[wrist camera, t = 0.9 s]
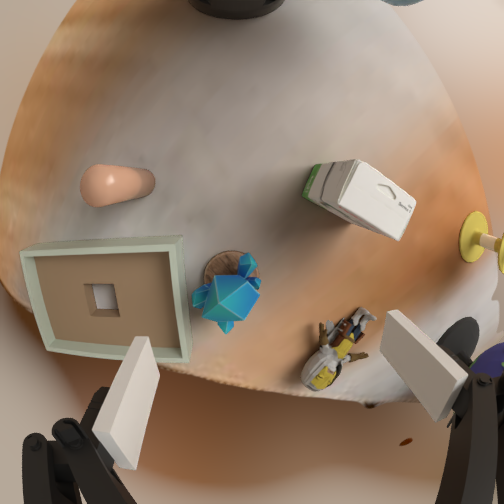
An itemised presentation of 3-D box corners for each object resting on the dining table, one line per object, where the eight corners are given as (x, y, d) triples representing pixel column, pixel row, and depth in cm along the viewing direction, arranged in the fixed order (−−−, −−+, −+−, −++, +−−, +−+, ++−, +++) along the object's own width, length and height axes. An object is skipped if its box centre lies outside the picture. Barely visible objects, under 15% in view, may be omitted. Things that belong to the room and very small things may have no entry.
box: (38, 243, 32) (19, 251, 27) (182, 235, 34) (175, 244, 29) (60, 335, 36) (46, 350, 32) (192, 342, 38) (189, 363, 34)
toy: (397, 334, 38) (337, 406, 38) (379, 322, 43) (325, 388, 43) (353, 297, 35) (284, 382, 35) (335, 286, 40) (274, 363, 40)
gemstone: (187, 274, 36) (171, 317, 24) (241, 237, 35) (249, 265, 24) (220, 315, 38) (219, 368, 26) (273, 281, 37) (292, 325, 25)
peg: (128, 170, 32) (79, 167, 19) (155, 167, 32) (115, 161, 19) (129, 197, 32) (81, 209, 20) (155, 195, 33) (117, 205, 20)
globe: (492, 296, 44) (580, 353, 15) (468, 371, 49) (531, 435, 20) (429, 320, 42) (536, 413, 13) (406, 401, 48) (469, 491, 19)
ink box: (299, 196, 34) (333, 204, 23) (315, 162, 33) (356, 155, 22) (352, 225, 36) (400, 244, 25) (367, 193, 35) (420, 201, 24)
